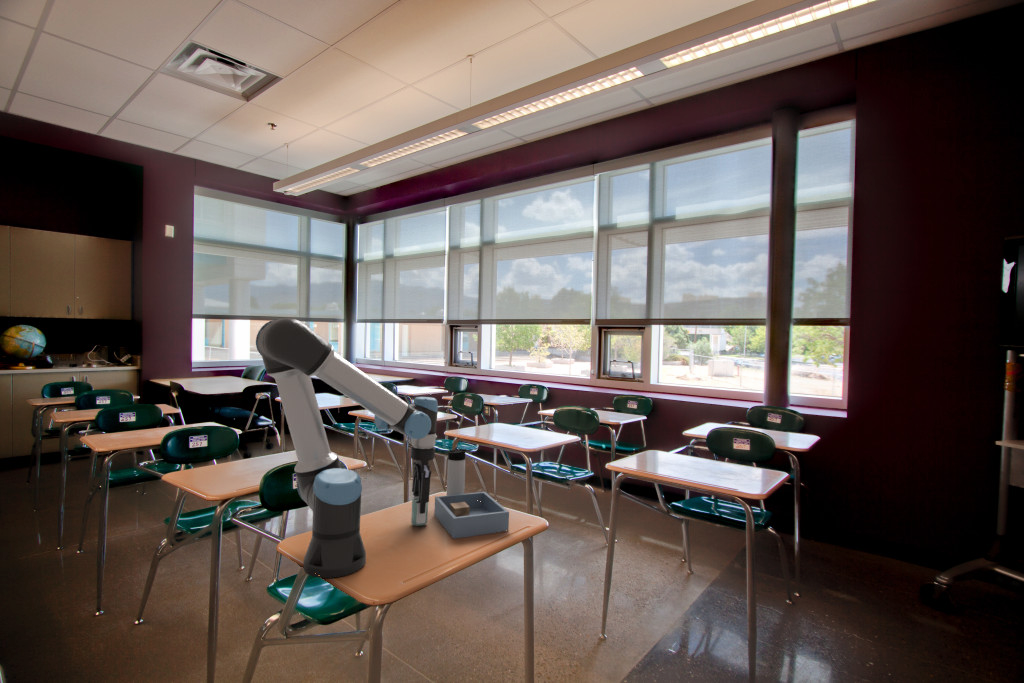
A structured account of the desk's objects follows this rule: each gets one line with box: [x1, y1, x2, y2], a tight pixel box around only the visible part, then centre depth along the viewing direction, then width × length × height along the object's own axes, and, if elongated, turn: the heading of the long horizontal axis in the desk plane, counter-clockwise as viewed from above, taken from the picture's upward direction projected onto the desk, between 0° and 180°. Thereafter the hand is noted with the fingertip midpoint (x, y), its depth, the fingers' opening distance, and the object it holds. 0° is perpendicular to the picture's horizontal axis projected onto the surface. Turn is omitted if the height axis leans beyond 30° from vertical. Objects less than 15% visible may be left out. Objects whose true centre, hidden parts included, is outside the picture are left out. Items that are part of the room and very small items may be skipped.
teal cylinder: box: [410, 498, 429, 526], centre depth 155 cm, size 5×5×7 cm
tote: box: [433, 491, 510, 539], centre depth 159 cm, size 18×21×6 cm
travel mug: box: [446, 448, 468, 496], centre depth 174 cm, size 6×7×20 cm
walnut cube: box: [450, 502, 470, 517], centre depth 157 cm, size 5×5×5 cm
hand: (418, 519), depth 154 cm, fingers closed on teal cylinder, 5 cm apart
